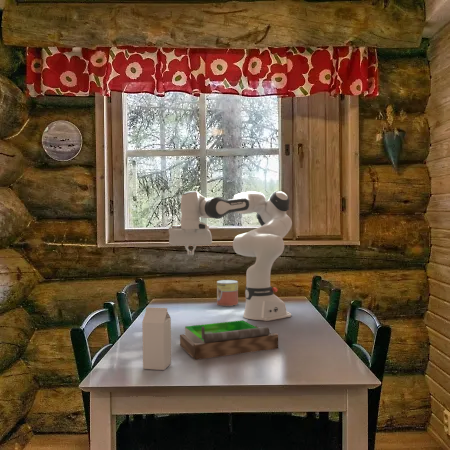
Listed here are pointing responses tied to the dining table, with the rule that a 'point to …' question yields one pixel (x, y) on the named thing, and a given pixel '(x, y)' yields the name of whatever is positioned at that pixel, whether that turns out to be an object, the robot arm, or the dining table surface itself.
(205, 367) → the dining table surface
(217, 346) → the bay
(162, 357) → the milk carton
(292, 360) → the dining table surface
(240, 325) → the tray
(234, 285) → the canned food
